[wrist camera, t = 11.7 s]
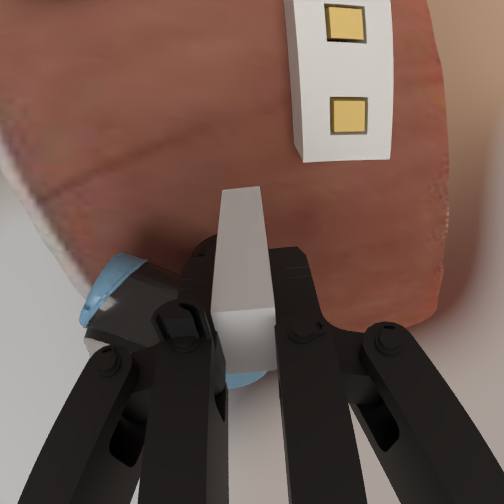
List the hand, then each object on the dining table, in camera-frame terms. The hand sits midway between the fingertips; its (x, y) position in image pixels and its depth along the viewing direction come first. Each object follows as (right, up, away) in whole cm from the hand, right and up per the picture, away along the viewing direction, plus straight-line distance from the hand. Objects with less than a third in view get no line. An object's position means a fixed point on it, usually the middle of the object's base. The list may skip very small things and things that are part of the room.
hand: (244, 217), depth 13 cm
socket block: (+11, +25, +25) cm, 37 cm away
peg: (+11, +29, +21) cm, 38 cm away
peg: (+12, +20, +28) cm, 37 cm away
